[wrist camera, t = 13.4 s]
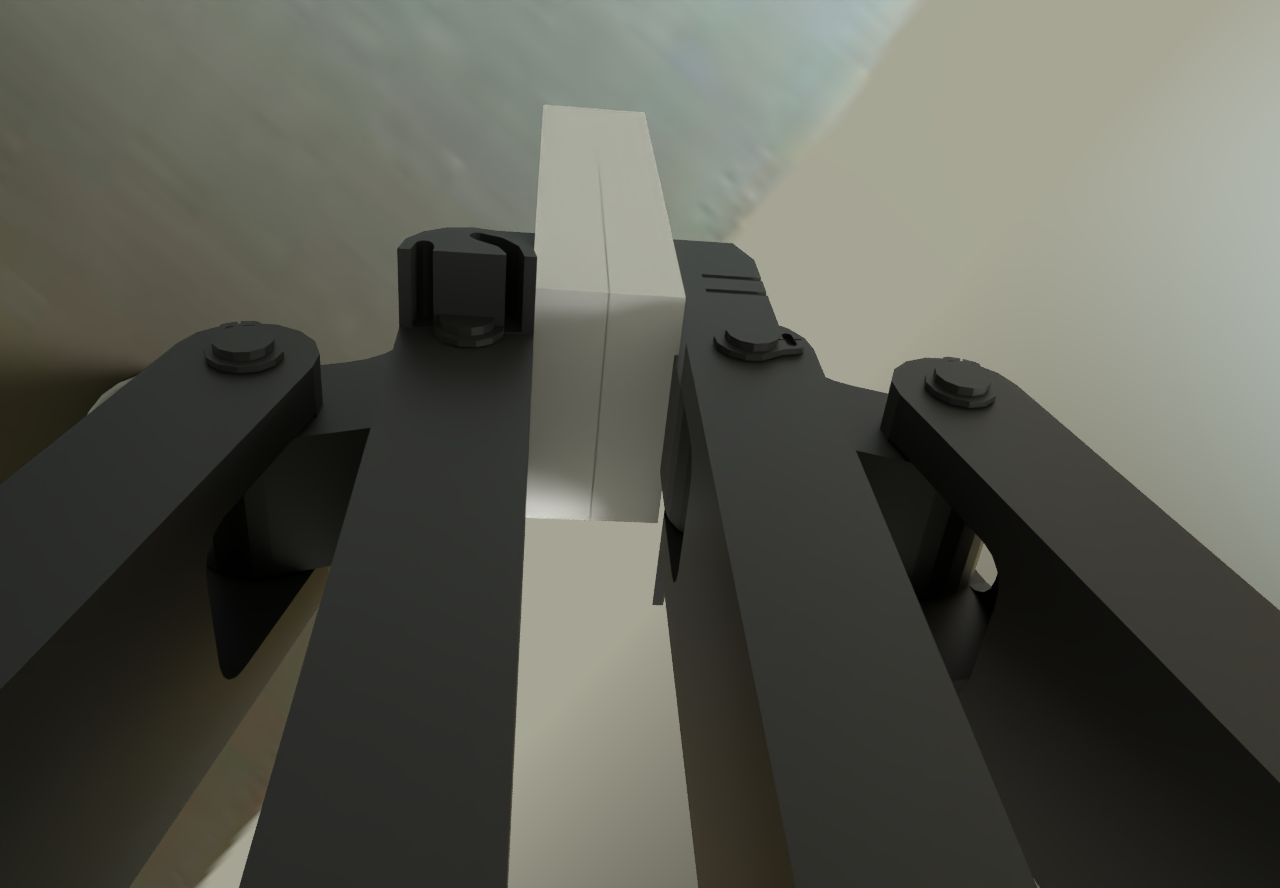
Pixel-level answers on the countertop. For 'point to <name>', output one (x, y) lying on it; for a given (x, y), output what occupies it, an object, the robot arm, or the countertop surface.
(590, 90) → the countertop surface
